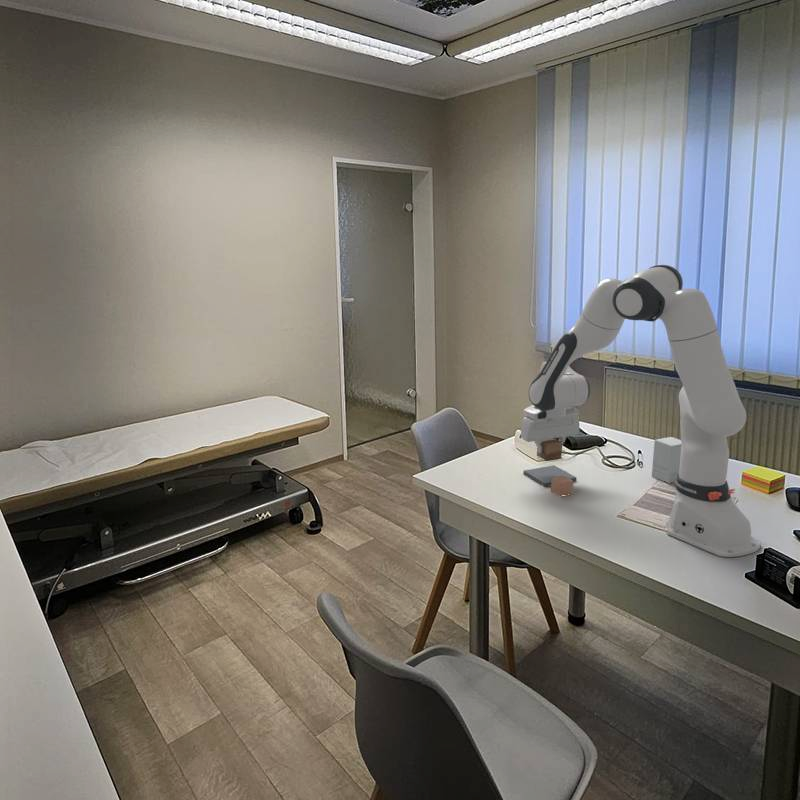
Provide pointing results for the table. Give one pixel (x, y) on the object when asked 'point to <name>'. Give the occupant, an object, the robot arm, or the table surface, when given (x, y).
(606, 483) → the table surface
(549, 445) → the walnut block
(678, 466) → the supplement box
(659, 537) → the table surface
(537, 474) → the board
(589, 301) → the robot arm
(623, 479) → the table surface
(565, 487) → the terracotta block
